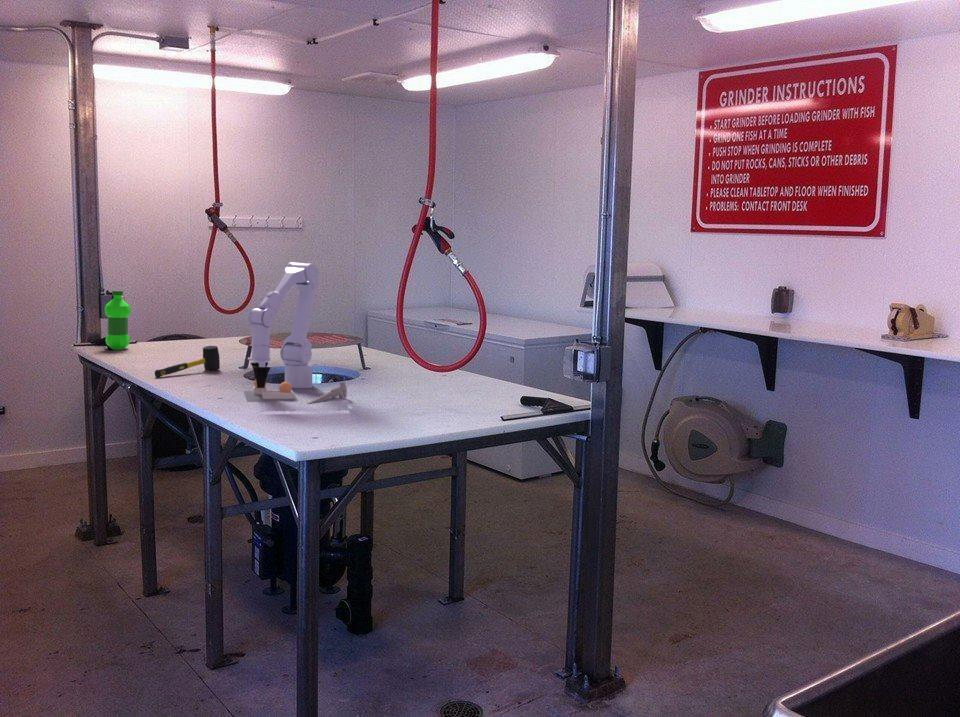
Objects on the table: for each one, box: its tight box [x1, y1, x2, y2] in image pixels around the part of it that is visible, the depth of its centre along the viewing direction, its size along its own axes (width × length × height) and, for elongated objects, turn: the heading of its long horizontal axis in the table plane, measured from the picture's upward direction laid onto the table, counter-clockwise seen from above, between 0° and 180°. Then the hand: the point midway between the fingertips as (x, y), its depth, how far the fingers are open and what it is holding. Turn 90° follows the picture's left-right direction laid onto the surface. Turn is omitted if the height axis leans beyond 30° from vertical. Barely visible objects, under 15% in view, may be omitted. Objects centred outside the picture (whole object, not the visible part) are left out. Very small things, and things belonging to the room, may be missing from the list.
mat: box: [243, 390, 299, 403], centre depth 289 cm, size 16×18×1 cm
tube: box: [252, 385, 268, 394], centre depth 292 cm, size 4×4×2 cm
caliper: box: [306, 381, 348, 405], centre depth 287 cm, size 20×1×6 cm, turn 151°
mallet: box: [154, 345, 221, 379], centre depth 328 cm, size 29×6×10 cm, turn 150°
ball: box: [253, 378, 267, 388], centre depth 292 cm, size 4×4×4 cm
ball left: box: [278, 381, 293, 393], centre depth 287 cm, size 4×4×4 cm
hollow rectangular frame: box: [262, 389, 295, 399], centre depth 286 cm, size 10×4×2 cm, turn 108°
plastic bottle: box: [104, 290, 132, 351], centre depth 379 cm, size 10×10×25 cm
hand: (259, 385), depth 292 cm, fingers open, 7 cm apart
